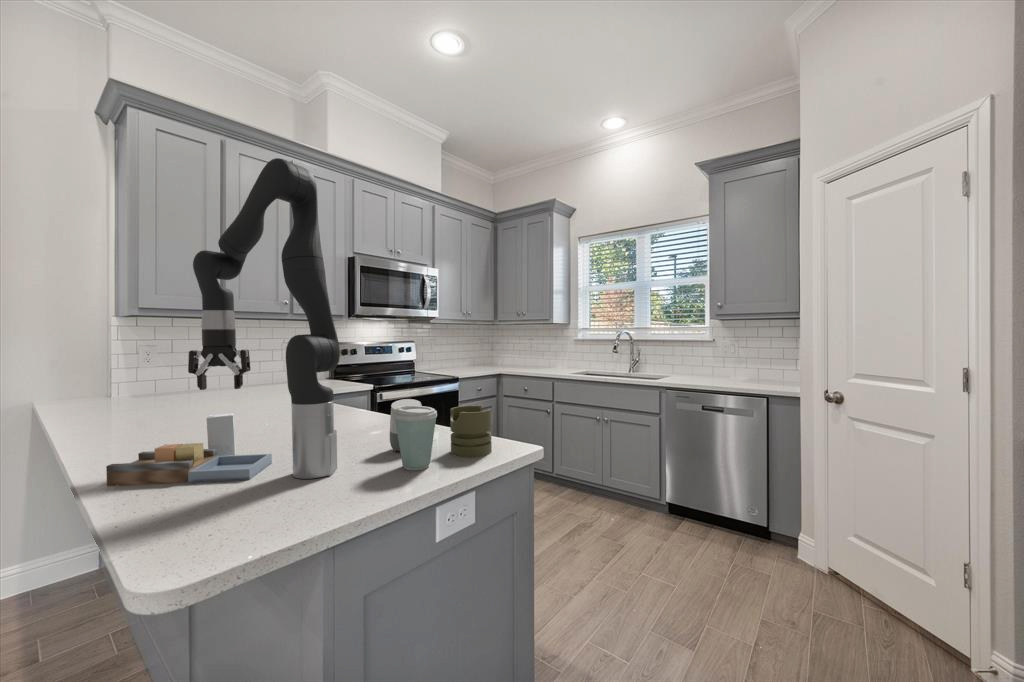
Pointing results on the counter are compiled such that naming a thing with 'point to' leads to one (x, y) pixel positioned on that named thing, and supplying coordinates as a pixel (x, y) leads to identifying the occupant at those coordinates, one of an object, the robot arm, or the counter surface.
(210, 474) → the tray
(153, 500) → the counter surface
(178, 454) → the olive yellow cube
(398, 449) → the smart speaker
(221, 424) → the skincare box
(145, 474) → the slotted board
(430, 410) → the disposable coffee cup
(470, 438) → the piston
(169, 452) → the orange cube
